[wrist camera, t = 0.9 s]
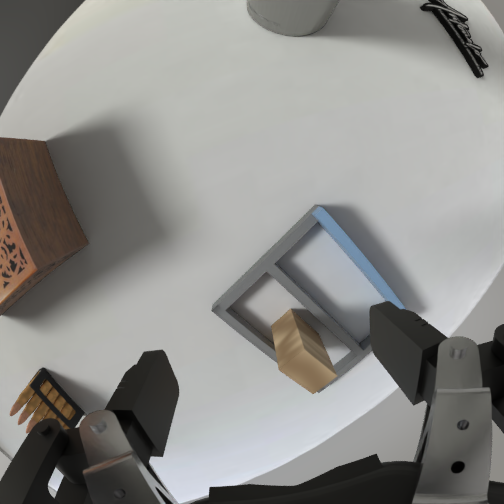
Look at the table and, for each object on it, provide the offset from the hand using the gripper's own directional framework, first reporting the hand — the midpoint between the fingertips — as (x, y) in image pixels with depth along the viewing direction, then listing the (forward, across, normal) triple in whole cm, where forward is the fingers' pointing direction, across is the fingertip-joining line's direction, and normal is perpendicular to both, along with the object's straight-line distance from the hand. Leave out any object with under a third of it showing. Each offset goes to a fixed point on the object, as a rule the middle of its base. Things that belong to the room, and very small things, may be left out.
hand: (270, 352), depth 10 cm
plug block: (+19, -3, +10) cm, 22 cm away
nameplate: (+17, -34, -32) cm, 50 cm away
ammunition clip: (+21, +37, +17) cm, 46 cm away
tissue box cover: (+20, +32, -8) cm, 39 cm away
